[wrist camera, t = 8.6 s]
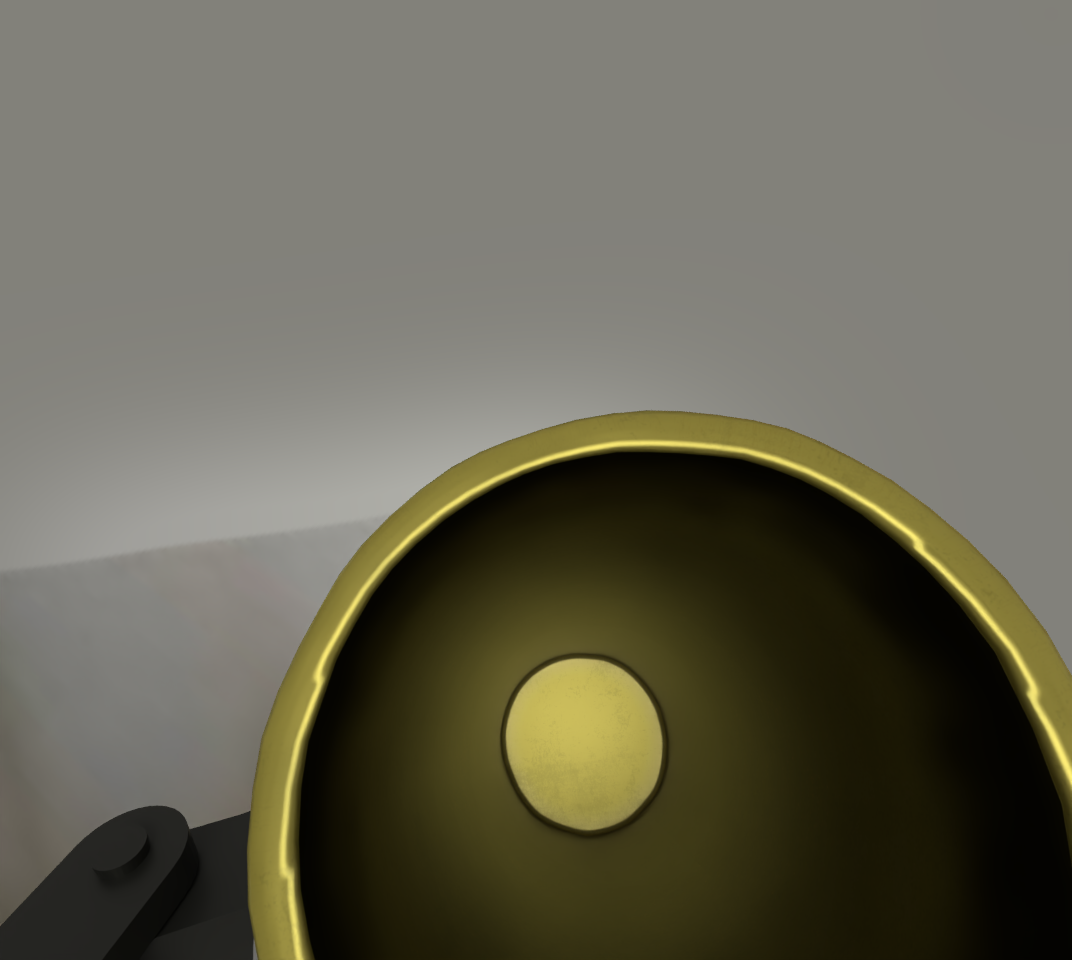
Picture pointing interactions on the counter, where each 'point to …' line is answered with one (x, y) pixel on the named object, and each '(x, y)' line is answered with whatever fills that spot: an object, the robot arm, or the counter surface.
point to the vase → (666, 720)
